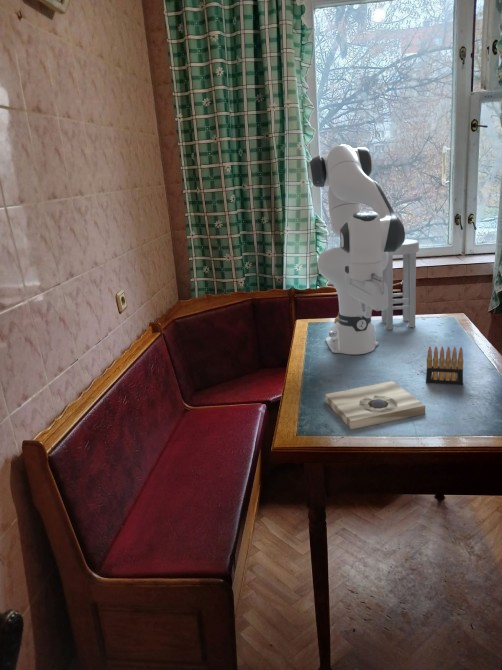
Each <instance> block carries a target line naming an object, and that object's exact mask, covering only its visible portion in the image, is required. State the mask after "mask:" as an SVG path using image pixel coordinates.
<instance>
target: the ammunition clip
mask: <svg viewBox="0 0 502 670" xmlns="http://www.w3.org/2000/svg"><path fill="white" fill-rule="evenodd" d="M452 349H453V350H452V352H451V349H450V346H447V349H446V352H445V349H444V346H441V348H440V351H439V350H438V347H437V346H435V347H434V351H433V352H432V347H431V346H429V347H428V349H427V355H426V373H425V374H426V375H425V376H426V377H425V383H426V384H434V385H437V384H438V385H454V386H455V385H458V386H459V385H460V386H462V385H464V350H463V347H462V346H460V347H459V350H458V352H457V348H456V346H454V347H453V348H452ZM445 353H446V355H445ZM451 353H452V354H451ZM457 354H458V355H457ZM457 356H458V358H457Z"/></svg>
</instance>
